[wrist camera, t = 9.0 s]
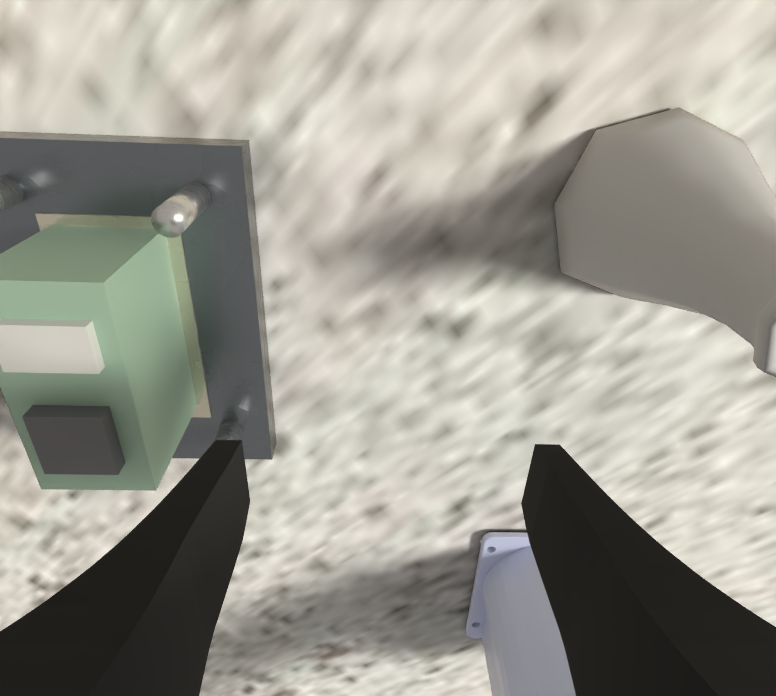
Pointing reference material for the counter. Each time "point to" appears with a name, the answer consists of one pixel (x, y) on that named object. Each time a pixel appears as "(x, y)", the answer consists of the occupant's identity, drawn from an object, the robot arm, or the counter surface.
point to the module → (94, 356)
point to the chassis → (186, 248)
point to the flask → (675, 223)
